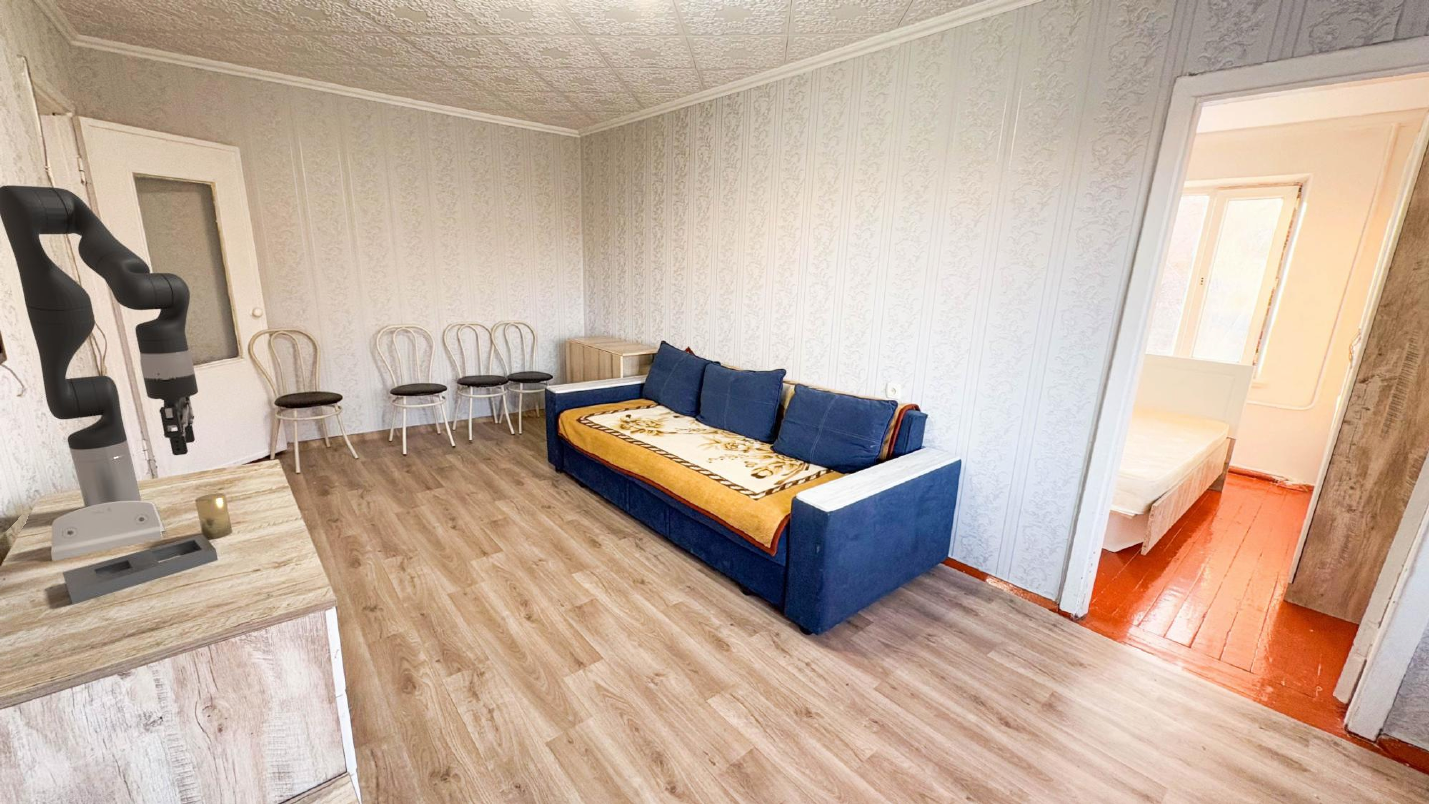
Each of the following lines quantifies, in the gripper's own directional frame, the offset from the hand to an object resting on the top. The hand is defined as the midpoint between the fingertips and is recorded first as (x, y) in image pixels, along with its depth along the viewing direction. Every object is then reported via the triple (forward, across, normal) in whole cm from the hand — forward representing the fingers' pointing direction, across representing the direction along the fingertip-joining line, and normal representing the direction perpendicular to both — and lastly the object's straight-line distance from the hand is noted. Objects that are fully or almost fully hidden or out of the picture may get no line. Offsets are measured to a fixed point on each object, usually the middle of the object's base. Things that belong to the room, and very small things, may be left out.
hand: (184, 448), depth 115 cm
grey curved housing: (+23, -10, -16) cm, 29 cm away
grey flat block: (+22, +9, -8) cm, 25 cm away
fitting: (+22, -3, +2) cm, 22 cm away
